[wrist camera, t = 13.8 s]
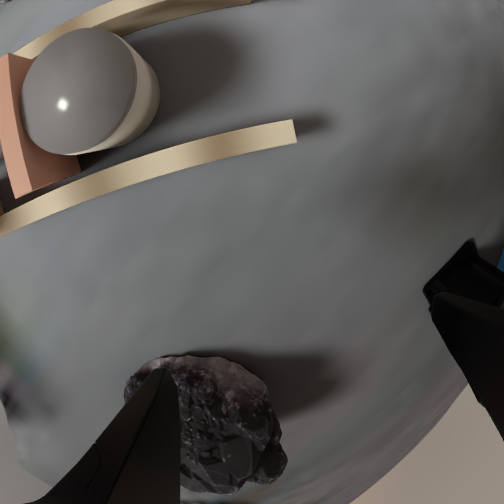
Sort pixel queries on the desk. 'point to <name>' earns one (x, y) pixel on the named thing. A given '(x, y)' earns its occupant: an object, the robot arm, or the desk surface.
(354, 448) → the desk surface
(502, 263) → the perfume bottle
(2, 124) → the pusher
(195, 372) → the dark rock
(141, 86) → the jar
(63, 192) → the lane
